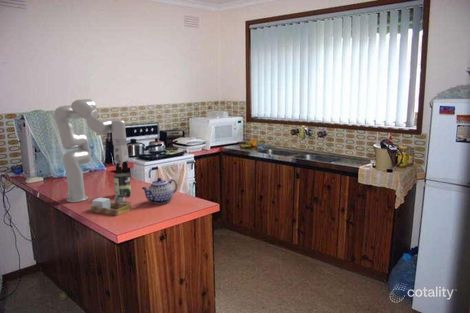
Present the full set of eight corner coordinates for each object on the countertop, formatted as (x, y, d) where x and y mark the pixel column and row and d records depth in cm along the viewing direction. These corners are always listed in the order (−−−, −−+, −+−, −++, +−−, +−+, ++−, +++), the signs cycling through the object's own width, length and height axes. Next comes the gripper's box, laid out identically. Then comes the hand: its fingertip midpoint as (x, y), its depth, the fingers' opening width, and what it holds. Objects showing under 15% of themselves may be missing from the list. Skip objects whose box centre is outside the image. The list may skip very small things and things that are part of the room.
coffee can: (134, 193, 251) (132, 173, 249) (126, 198, 241) (125, 176, 239) (120, 193, 253) (118, 172, 251) (112, 197, 243) (110, 176, 241)
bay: (90, 211, 216) (90, 206, 216) (105, 205, 226) (104, 200, 226) (117, 215, 208) (116, 210, 207) (131, 209, 218) (130, 204, 217)
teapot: (171, 194, 246) (170, 172, 243) (185, 199, 234) (183, 176, 232) (136, 203, 229) (134, 179, 226) (149, 208, 218) (147, 183, 215)
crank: (116, 196, 228) (115, 188, 227) (119, 195, 230) (118, 187, 229) (128, 198, 224) (127, 189, 223) (131, 196, 226) (131, 188, 225)
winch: (109, 204, 228) (108, 197, 227) (118, 201, 235) (118, 194, 234) (122, 206, 224) (121, 199, 223) (131, 202, 231) (130, 195, 230)
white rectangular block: (93, 210, 219) (92, 200, 218) (100, 207, 224) (100, 197, 223) (103, 211, 215) (102, 201, 214) (110, 208, 221) (110, 198, 220)
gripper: (120, 144, 204) (122, 175, 207) (131, 139, 221) (133, 168, 224) (106, 144, 205) (109, 175, 208) (119, 139, 222) (121, 168, 225)
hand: (122, 171), depth 216 cm, fingers open, 8 cm apart
